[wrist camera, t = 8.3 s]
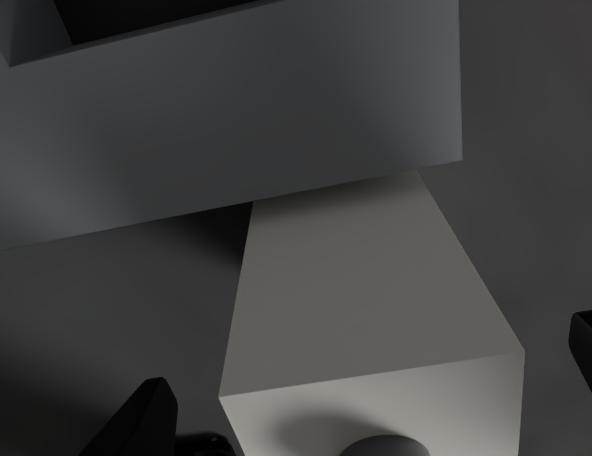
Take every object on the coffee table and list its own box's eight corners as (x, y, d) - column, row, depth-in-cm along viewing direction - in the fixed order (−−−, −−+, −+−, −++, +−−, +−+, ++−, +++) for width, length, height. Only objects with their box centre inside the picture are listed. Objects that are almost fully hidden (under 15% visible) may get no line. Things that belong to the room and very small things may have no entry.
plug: (415, 269, 15) (553, 615, 7) (289, 291, 16) (283, 638, 8) (403, 149, 13) (586, 452, 5) (257, 179, 14) (200, 501, 5)
